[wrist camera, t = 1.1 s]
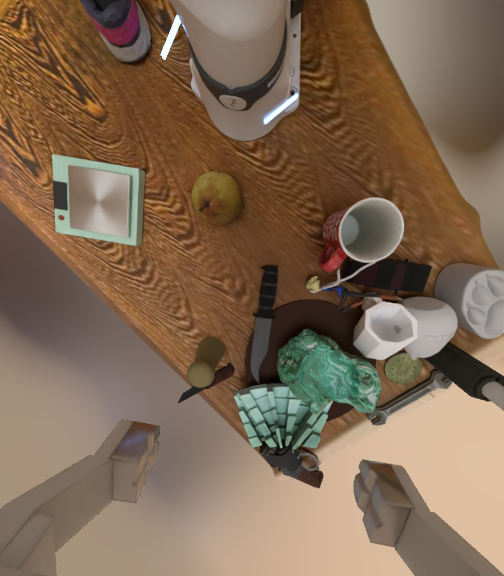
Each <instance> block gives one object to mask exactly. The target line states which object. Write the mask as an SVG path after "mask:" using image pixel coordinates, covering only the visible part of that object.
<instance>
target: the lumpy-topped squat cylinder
mask: <svg viewBox="0 0 504 576" xmlns="http://www.w3.org/2000/svg"><path fill="white" fill-rule="evenodd" d="M434 299H437V300H440V301H443V302H445V303H447V304H448V305H450V306H451V308H452V309H453V310H454V311H455V313H456V316H457V320H458V324H457V325H458V326H460V327H462V328H464V329H466V330H468V331H470V332H472V333H474V334H476V335H478V336H480V337H482V338H486V339H492V338H496V337H498V336H500V335H501V334H503V333H504V271H502V270H499V269H494V268H488V267H483V266H478V265H472V264H467V263H454V264H450V265H448V266H447V267H445V268H444V269H443V270H442V271H441V272H440V274H439V276H438V278H437V280H436V283H435V289H434Z"/></svg>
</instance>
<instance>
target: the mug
mask: <svg viewBox="0 0 504 576" xmlns="http://www.w3.org/2000/svg"><path fill="white" fill-rule="evenodd" d="M403 233H404V221H403V217H402V214H401V212H400V211H399V209H398V208H397V207H396V206H395V205H394V204H393V203H392V202H390V201H388V200H386V199H383V198H377V197H371V198H366V199H363V200H360V201H358V202H356V203H355V204H353V205H352V206H350V207H347V208H345V209H343V210H340V211H337V212H335V213H333V214H332V215H330V216H329V217H328V218H327V220H326V221H325V223H324V225H323V229H322V235H323V239H324V241H325V242H326V245H325V247H324V249H323V251H322V254H321V256H320V259H319V266H320V267H321V268H322V269H323V270H325V271H326V272H332V271H334V270H335V269H336V268H338V267H339V266H340V265H341V263H342V262H343V261H344V259H345V258H346V257H347V256H349V257H351V258H352V259H354V260H356V261H359V262H365V263H371V262H377V261H380V260H382V259H384V258H386V257H387V256H389V255H390V254H391V253H393V251H394V250H395V249H396V248H397V247H398V245H399V243H400V242H401V239H402V237H403ZM334 250H336V251H335V253H334V255H333V256H332V257H331V255H332V253H333V251H334ZM330 257H331V258H330Z"/></svg>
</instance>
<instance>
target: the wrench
mask: <svg viewBox="0 0 504 576" xmlns="http://www.w3.org/2000/svg"><path fill="white" fill-rule="evenodd" d="M443 376H445V375H444V374H443V373H441V372H440V371H439V370H435V371H433V372H432V374H431V377H430V379H429V380H427V381H425V382H424V383H422V384H420V385H419V386H417V387H415V388H413V389H412V390H410V391H408V392H407V393H405V394H403V395H401V396H400V397H398V398H396V399H394V400H393V401H391V402H389V403H388V404H386V405H384V406H382V407H375V409H374V411H373V412H372V413H367V418H368V420H369V419H371V418H372V417H374V416H378V417H377V418H375V419H373V420H371V422H372V424H373V425H382V424H385V423H386V420H387V417H388V416H389V415H391V414H393V413H395V412H396V411H398V410H400V409H402V408H403V407H405V406H407V405H409V404H410V403H412V402H414V401H416V400H417V399H419V398H421V397H423V396H424V395H426V394H428V393H430V392H432V391H433V390H435V389H437V388H443V389H448V387H449V386H450V385H451V384H452V381H451V380H450V379H449V378H447V377H446V378H445V379H443V380H442V378H441V377H443Z"/></svg>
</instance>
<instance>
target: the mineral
mask: <svg viewBox="0 0 504 576" xmlns="http://www.w3.org/2000/svg"><path fill="white" fill-rule="evenodd" d="M277 369H278V373H279V376H280V380H281V381H282V382H283V383H286V384H287V385H288V387H289V388H290V390H291V392H292V393H293V394H294V395H295V396H296V397H297V398H298V399H300V400H301V401H302V402H305V403H306V404H307V407H308V408H309V410H310V411H311V412H312V413H314V414H319V413H320V412H321V411H322V410H323V409H324V408H325V407H326V406H327V404H330V403H331V401H336V402H338V403H348V404H350V405H352V406H354V407H355V408H356V409H358V410H359V411H361V412H365V413H372V412H373V411H374V409H375V406H376V404H377V401H378V399H379V395H380V392H381V391H382V388H381V385H380V379H379V375H378V373H377V370H376V369H375V368H374V367H373V366H372V365H371V364H370V363H369V362H368V361H366V360H363V359H360V357H358V356H356V355H352V354H350V353H348V352H346V351H343V350H341V349H340V347H339V346H338V344H337V343H336V342H334V341H333V340H332V339H331V338H330V337H326V336H324V335H317V333H316V332H314V331H312V330H311V329H305V330H303V332H302V333H300V334H299V335H298V336H296V337H295V338H292V339H290V340H289V342H288V344H286V345H285V346H283V347H282V348H281V349H279V352H278V361H277Z"/></svg>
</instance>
